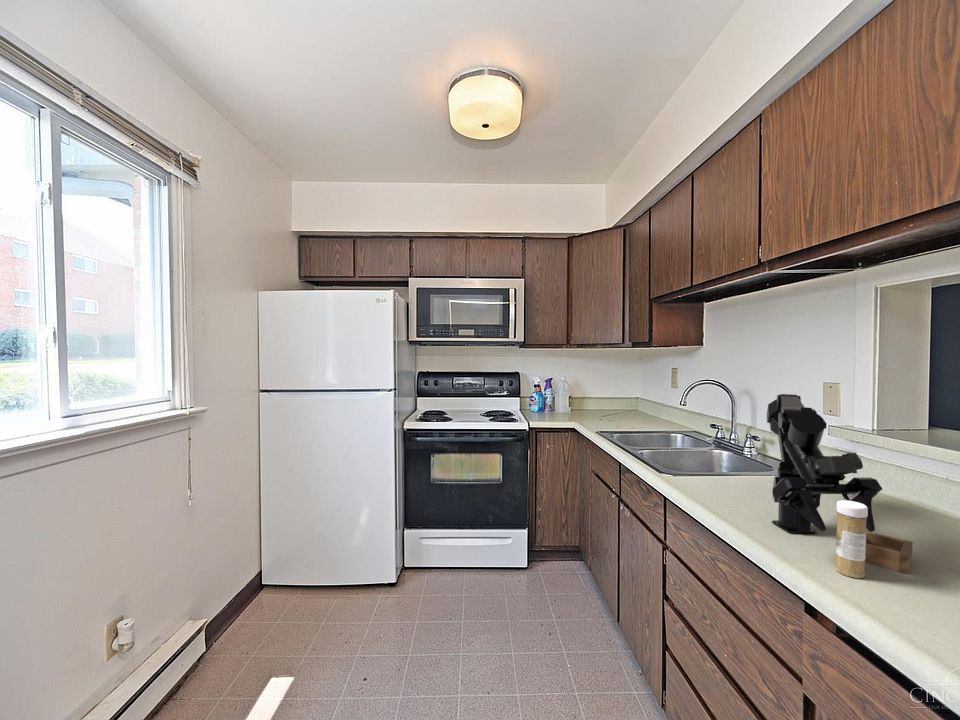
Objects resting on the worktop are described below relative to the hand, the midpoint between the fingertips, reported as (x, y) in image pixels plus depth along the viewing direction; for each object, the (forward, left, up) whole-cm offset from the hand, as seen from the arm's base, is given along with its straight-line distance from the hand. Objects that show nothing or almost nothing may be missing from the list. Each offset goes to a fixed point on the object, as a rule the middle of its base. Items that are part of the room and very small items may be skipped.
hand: (848, 530), depth 86 cm
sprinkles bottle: (0, 0, -8) cm, 8 cm away
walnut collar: (-6, +11, -8) cm, 15 cm away
